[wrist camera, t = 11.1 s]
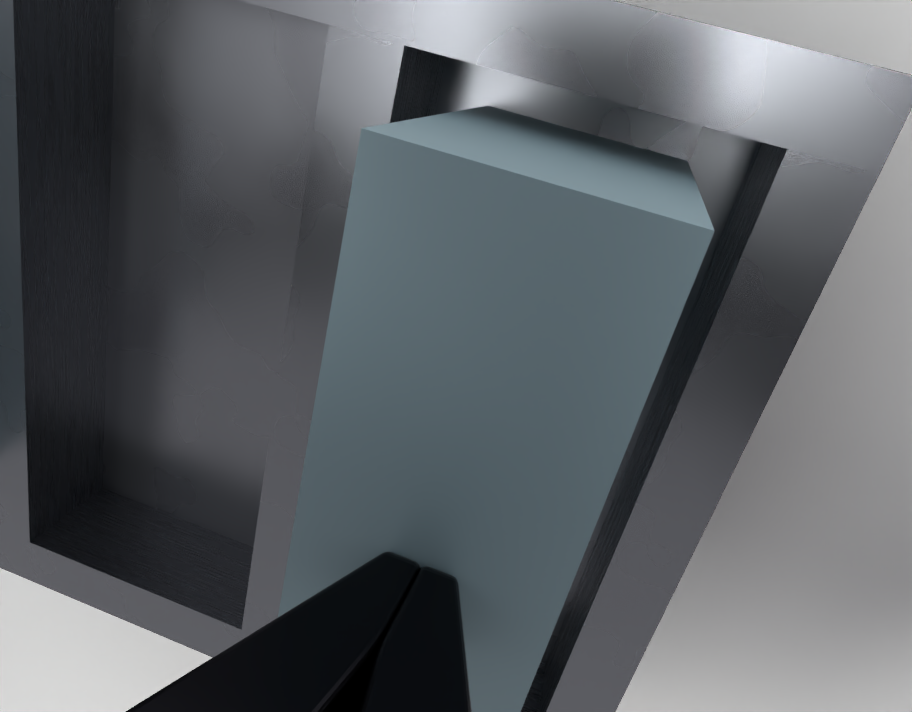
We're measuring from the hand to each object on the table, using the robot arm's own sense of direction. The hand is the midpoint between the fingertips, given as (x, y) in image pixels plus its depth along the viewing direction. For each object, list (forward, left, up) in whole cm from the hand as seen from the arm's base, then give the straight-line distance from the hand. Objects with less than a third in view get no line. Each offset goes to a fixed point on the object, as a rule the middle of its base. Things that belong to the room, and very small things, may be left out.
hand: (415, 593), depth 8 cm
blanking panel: (0, 0, -5) cm, 5 cm away
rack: (0, +6, -6) cm, 8 cm away
